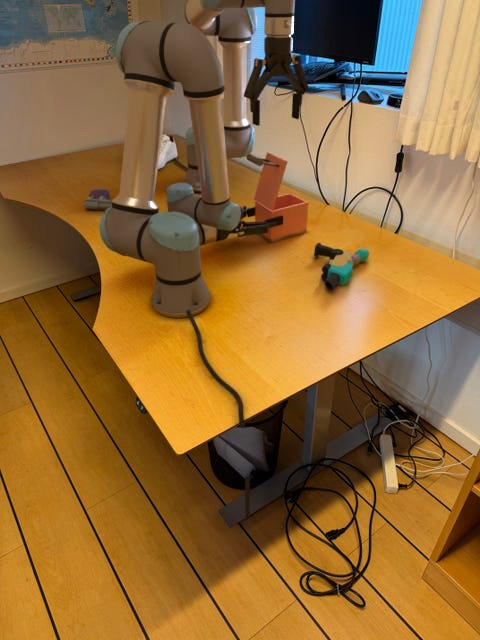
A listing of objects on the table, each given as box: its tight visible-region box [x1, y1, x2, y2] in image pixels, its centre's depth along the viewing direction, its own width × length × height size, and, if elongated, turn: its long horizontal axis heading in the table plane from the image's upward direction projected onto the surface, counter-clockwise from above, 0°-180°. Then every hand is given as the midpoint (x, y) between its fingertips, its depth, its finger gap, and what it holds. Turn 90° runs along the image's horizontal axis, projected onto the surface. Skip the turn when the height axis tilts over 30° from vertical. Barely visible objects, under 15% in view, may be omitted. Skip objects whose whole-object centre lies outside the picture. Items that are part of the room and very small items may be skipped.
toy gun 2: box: [313, 242, 370, 292], centre depth 136 cm, size 4×26×15 cm
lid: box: [246, 152, 288, 210], centre depth 144 cm, size 15×10×9 cm
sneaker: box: [158, 133, 179, 170], centre depth 214 cm, size 10×29×12 cm, turn 163°
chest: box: [254, 192, 309, 243], centre depth 156 cm, size 14×10×10 cm
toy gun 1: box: [82, 188, 112, 211], centre depth 178 cm, size 4×19×15 cm
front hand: (273, 214), depth 154 cm, fingers closed on chest, 10 cm apart
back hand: (276, 121), depth 137 cm, fingers open, 13 cm apart
